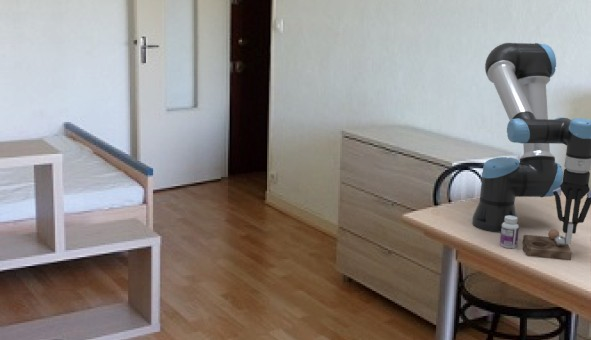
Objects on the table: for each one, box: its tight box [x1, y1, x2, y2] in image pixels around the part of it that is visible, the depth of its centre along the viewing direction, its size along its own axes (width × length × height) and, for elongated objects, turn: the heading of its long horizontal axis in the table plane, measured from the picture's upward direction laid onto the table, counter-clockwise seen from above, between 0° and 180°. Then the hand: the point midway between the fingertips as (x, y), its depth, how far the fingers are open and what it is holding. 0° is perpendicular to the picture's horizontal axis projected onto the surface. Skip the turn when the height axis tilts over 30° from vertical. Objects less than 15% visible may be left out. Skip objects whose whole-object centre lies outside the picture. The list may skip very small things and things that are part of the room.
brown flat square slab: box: [522, 234, 573, 261], centre depth 239 cm, size 14×13×2 cm
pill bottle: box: [499, 216, 520, 249], centre depth 241 cm, size 5×5×10 cm
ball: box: [554, 234, 566, 246], centre depth 236 cm, size 3×3×3 cm
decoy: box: [547, 228, 560, 240], centre depth 242 cm, size 3×3×3 cm
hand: (567, 242), depth 236 cm, fingers closed
